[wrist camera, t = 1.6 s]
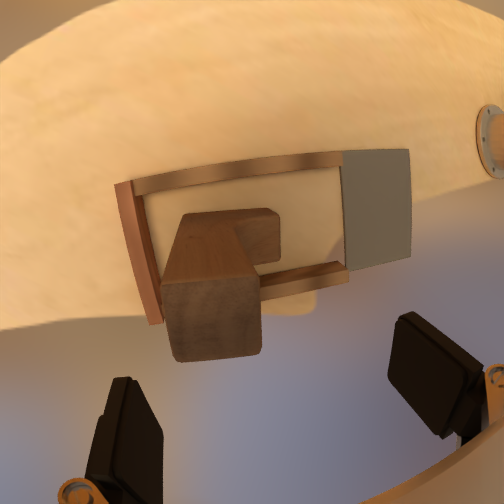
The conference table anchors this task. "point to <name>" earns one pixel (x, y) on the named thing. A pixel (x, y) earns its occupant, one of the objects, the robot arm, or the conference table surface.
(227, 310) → the wooden block
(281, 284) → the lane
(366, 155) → the mat
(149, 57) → the conference table surface
